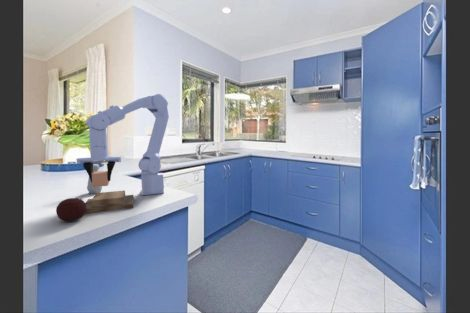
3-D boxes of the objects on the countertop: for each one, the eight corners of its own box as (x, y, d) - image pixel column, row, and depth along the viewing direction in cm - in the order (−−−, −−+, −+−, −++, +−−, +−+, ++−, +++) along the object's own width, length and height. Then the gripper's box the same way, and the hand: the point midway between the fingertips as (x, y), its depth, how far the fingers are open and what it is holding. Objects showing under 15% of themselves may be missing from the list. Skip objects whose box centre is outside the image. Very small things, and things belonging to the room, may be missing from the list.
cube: (109, 183, 90) (108, 170, 90) (107, 185, 86) (106, 173, 85) (94, 184, 88) (94, 171, 88) (92, 186, 84) (91, 173, 83)
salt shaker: (95, 194, 97) (93, 165, 96) (84, 194, 98) (82, 165, 97) (105, 191, 103) (103, 163, 101) (94, 190, 104) (93, 163, 103)
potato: (62, 217, 72) (61, 196, 71) (90, 214, 74) (88, 194, 74) (52, 226, 65) (50, 203, 64) (82, 223, 67) (81, 200, 67)
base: (133, 198, 93) (133, 188, 92) (133, 208, 81) (132, 197, 81) (88, 202, 86) (87, 192, 86) (80, 214, 75) (80, 202, 74)
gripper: (120, 145, 92) (122, 177, 93) (78, 146, 86) (81, 180, 87) (119, 146, 85) (121, 181, 87) (73, 147, 80) (76, 184, 81)
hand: (100, 181), depth 87 cm, fingers closed on cube, 5 cm apart
